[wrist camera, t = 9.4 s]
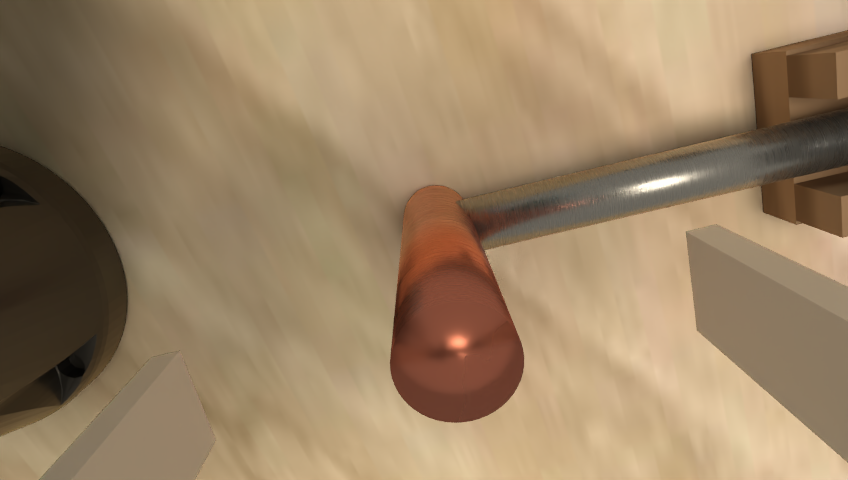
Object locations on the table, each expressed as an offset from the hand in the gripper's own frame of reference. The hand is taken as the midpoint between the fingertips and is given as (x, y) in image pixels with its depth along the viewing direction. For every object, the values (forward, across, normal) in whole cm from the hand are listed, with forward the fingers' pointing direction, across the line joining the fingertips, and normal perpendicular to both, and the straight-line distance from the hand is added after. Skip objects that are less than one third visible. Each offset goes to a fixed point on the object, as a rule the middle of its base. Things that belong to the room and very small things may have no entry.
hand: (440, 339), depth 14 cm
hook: (+14, +11, 0) cm, 18 cm away
